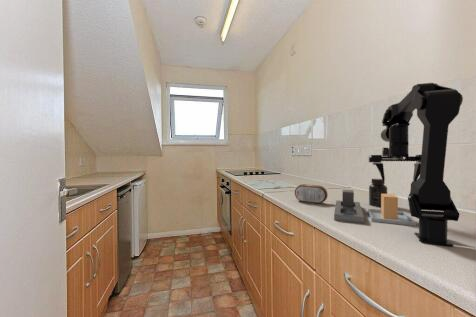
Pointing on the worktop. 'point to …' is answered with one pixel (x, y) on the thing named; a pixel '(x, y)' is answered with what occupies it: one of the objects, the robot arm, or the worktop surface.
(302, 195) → the portable speaker
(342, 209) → the grey slotted frame
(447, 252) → the worktop surface
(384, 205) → the orange block
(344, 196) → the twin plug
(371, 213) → the tray
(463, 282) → the worktop surface
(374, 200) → the supplement bottle
